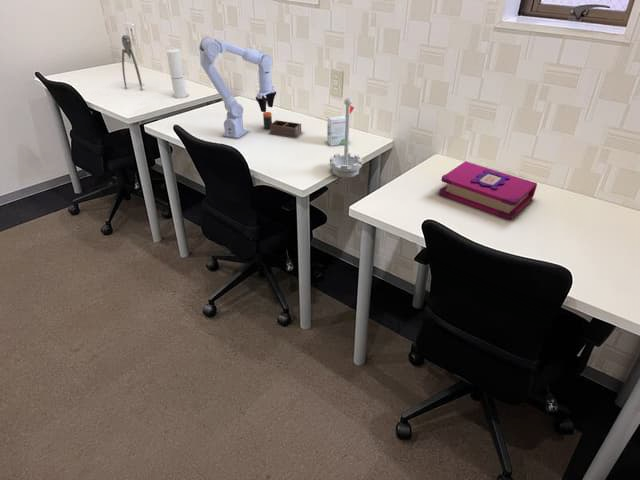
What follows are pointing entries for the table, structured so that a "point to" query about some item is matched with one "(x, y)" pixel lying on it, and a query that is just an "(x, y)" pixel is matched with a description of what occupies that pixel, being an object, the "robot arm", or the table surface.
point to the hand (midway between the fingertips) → (267, 109)
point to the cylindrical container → (176, 73)
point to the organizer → (285, 128)
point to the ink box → (336, 130)
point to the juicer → (128, 50)
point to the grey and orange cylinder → (267, 120)
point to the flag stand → (346, 152)
